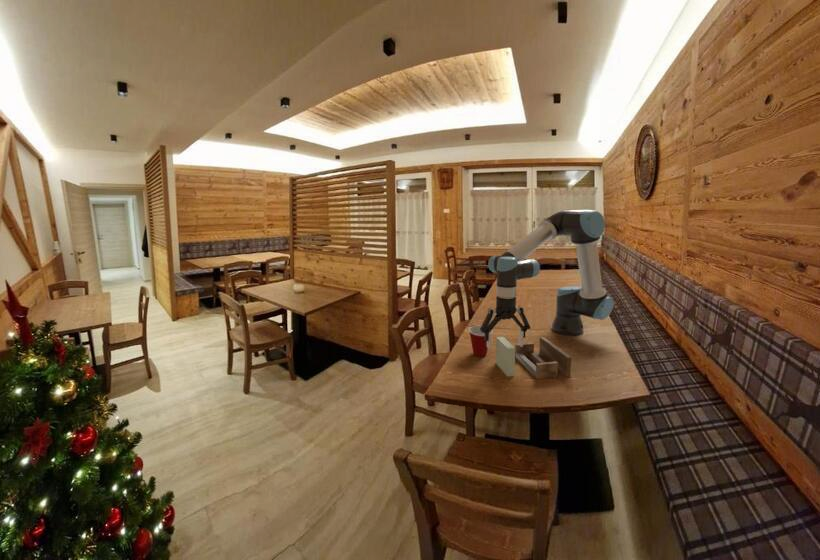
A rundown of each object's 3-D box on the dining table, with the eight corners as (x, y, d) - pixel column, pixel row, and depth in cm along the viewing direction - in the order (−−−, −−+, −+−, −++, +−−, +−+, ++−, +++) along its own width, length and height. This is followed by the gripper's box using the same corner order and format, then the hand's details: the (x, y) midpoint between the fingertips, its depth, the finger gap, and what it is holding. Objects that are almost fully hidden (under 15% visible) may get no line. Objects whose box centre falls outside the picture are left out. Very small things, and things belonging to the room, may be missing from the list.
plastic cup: (486, 361, 151) (486, 335, 148) (464, 356, 157) (464, 331, 154) (496, 352, 159) (496, 328, 156) (474, 347, 165) (474, 324, 163)
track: (542, 353, 156) (543, 336, 154) (570, 376, 135) (571, 357, 133) (514, 356, 155) (514, 339, 153) (537, 379, 134) (538, 360, 132)
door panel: (502, 362, 149) (503, 336, 146) (514, 375, 137) (515, 347, 135) (496, 363, 149) (496, 337, 146) (507, 376, 137) (507, 348, 134)
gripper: (531, 292, 141) (529, 340, 146) (472, 295, 138) (472, 345, 143) (540, 296, 134) (538, 347, 139) (478, 300, 131) (478, 352, 136)
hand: (504, 346), depth 141 cm, fingers open, 13 cm apart
